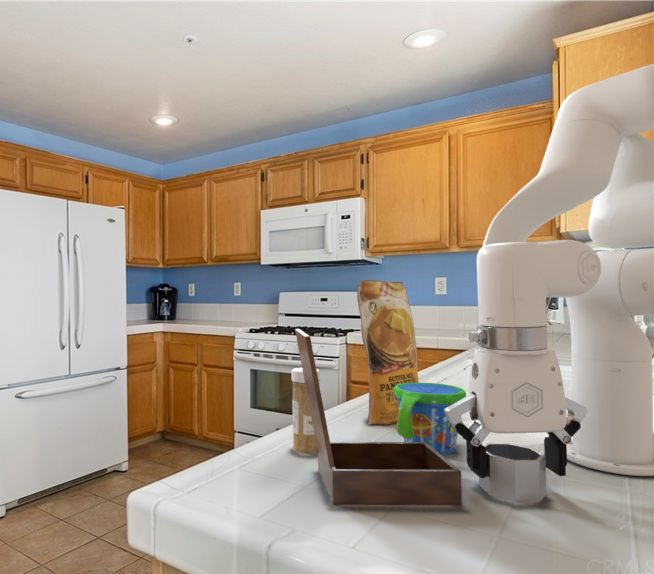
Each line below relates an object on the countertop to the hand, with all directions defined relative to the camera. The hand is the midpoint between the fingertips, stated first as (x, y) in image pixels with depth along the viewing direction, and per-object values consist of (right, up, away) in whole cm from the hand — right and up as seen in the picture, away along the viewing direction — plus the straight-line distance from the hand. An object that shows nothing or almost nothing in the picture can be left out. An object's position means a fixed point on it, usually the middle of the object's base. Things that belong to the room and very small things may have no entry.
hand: (516, 472), depth 63 cm
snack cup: (-4, -3, +17) cm, 18 cm away
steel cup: (-1, -3, -1) cm, 3 cm away
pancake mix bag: (-3, -3, +37) cm, 37 cm away
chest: (-17, -3, +1) cm, 17 cm away
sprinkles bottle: (-24, -3, +16) cm, 29 cm away
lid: (-25, +10, +2) cm, 27 cm away
